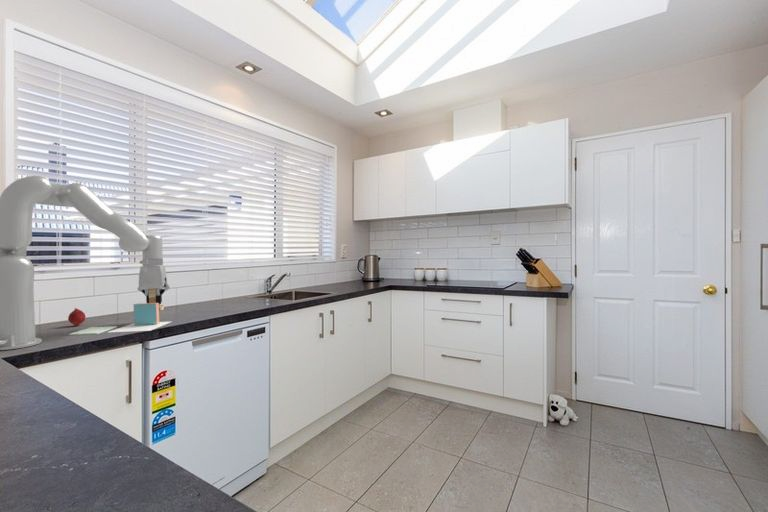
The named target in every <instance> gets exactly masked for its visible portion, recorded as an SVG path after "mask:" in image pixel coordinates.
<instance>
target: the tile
mask: <svg viewBox="0 0 768 512" xmlns="http://www.w3.org/2000/svg"><path fill="white" fill-rule="evenodd" d="M159 322H160V311H159V303H147V302H144V303H143V302H142V303H134V304H133V323H134V326H136V325H157V324H159Z"/></svg>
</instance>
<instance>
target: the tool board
mask: <svg viewBox="0 0 768 512" xmlns="http://www.w3.org/2000/svg"><path fill="white" fill-rule="evenodd" d="M115 329H118V325H115V326H91V327H88V328H84V329H81V330H78V331H74V332H72V333H69V334H68V335H69V336H80V335H81V336H83V335H85V336H86V335H98V334H101V333H104V332H109V331H112V330H115Z"/></svg>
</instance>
